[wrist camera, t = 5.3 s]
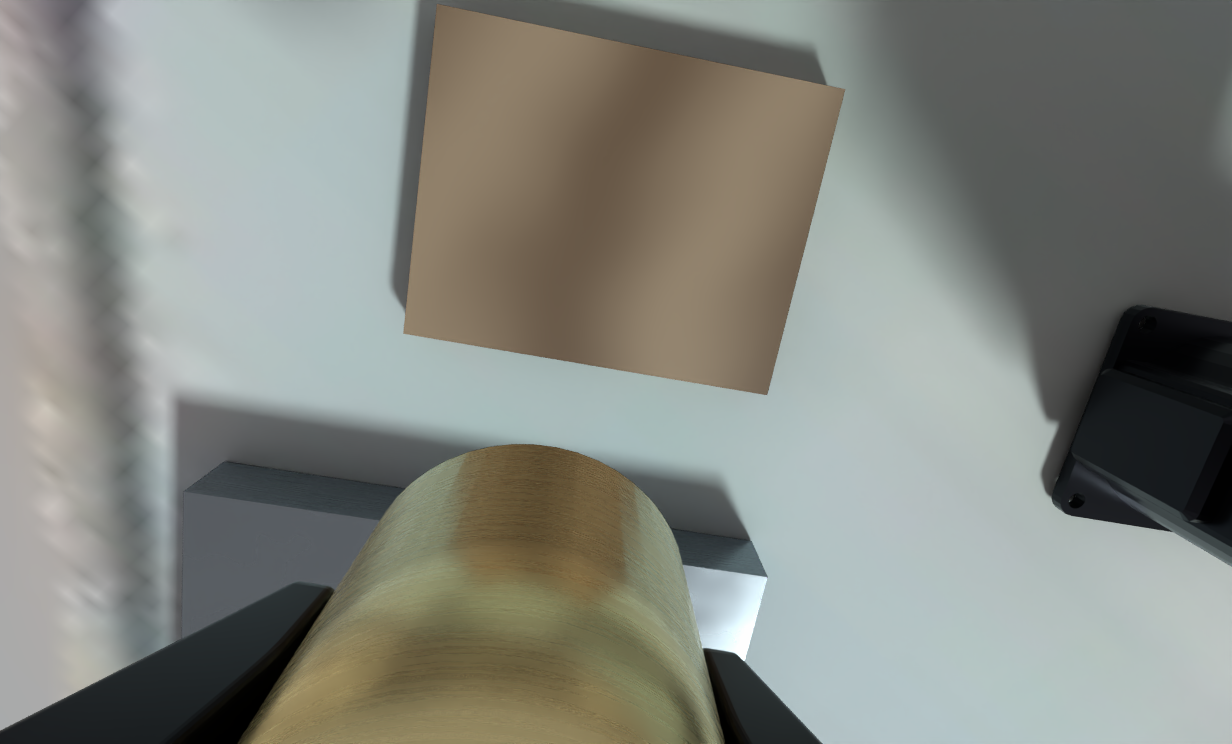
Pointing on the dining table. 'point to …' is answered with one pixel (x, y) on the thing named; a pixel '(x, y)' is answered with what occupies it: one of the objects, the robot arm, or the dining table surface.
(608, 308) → the pad
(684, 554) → the hole plate
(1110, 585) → the dining table surface
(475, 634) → the brass peg
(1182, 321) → the robot arm
